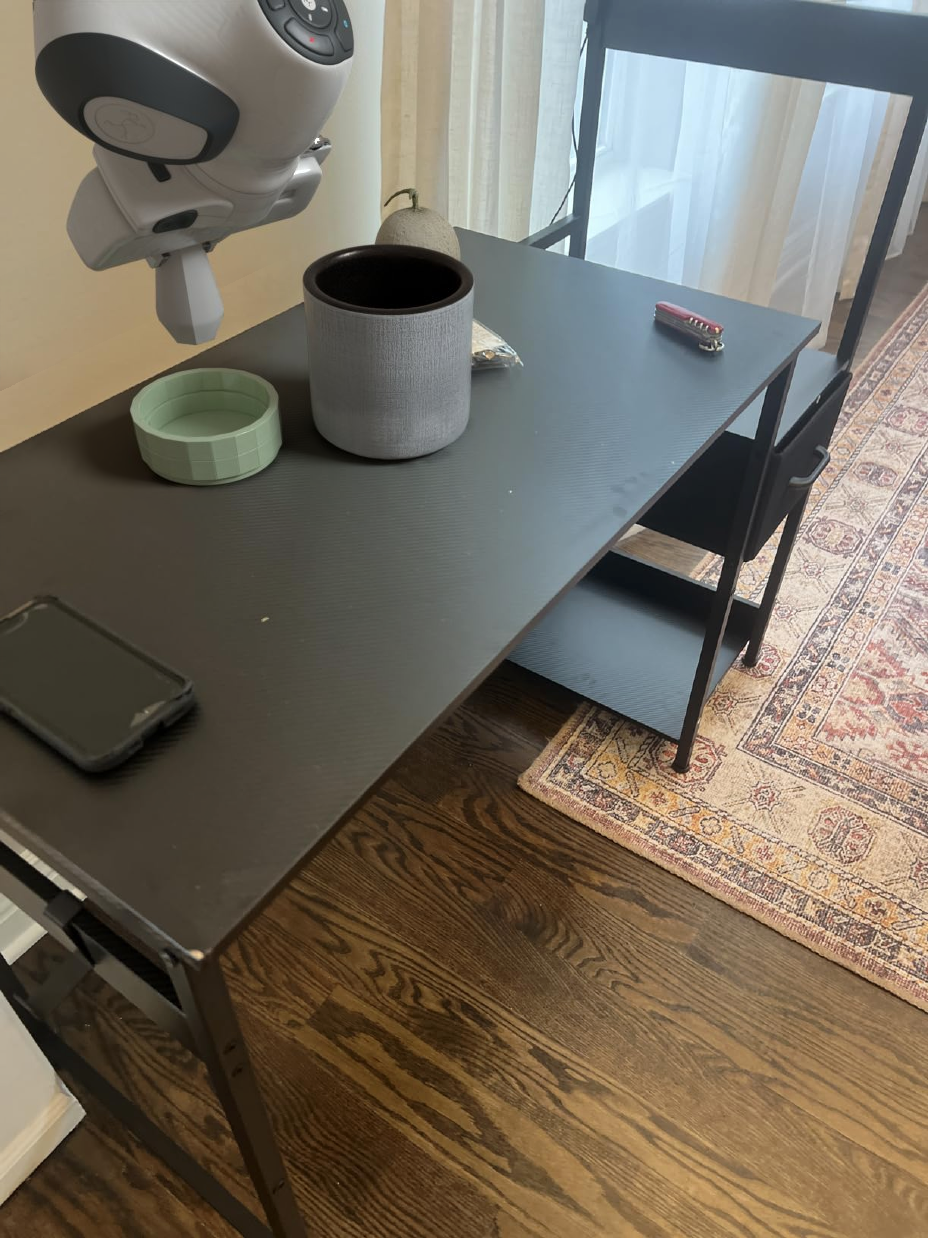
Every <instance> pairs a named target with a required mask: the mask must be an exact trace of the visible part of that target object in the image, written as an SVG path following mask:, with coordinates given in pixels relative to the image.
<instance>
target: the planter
mask: <svg viewBox="0 0 928 1238" xmlns="http://www.w3.org/2000/svg"><path fill="white" fill-rule="evenodd" d="M301 281H302V292H303V294H302V295H303V304H304V306H303V307H304V317H305V318H304V319H305V331H306V345H307V346H306V347H307V361H308V375H309V377H308V378H309V390H310V391H309V393H310V403H311V404H310V405H311V415H312V419H313V422H314V426H315V428H316V429H317V431H318V433H319V434H320V435H321V436H322V437H323V438H324V439H325V440H326V441H328V442H329V443H331V444H332V445H334V446H335V447H337V448H339V449H341V450H343V451H346V452H348V453H350V454H353V455H356V456H359V457H363V458H368V459H375V460H382V461H384V460H385V461H398V460H411V459H415V458H419V457H420V458H421V457H423V456H428V455H431V454H433V453H436V452H438V451H440V450H442V449H444V448H446V447H448V446H449V445H451V444H452V443H454V441H457V440H458V438H460V436H462V435H463V433H464V432H465V431H466V429H467V427H468V424H469V420H470V415H471V400H472V399H471V397H472V362H473V361H472V359H473V327H474V299H475V277H474V275H473V272H472V271H471V270H470V269H469V267H468V266H467V265H466V264H465V263H464V262H462V261H461V260H460V261H459V260H457V259H455V258H453V257H451V256H449V255H447V254H444V253H441V252H439V251H435V250H432V249H428V248H423V247H418V246H411V245H401V244H375V243H373V244H362V245H355V246H351V247H346V248H341V249H338V250H334V251H332V252H330V253H327V254H324V255H322V256H321V257H319V258H317V259H316V260H314V261H313V262H312V263H310V264H309V265H308V266H307V267H306V269H305V270H304V272H303V275H302V279H301Z"/></svg>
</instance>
